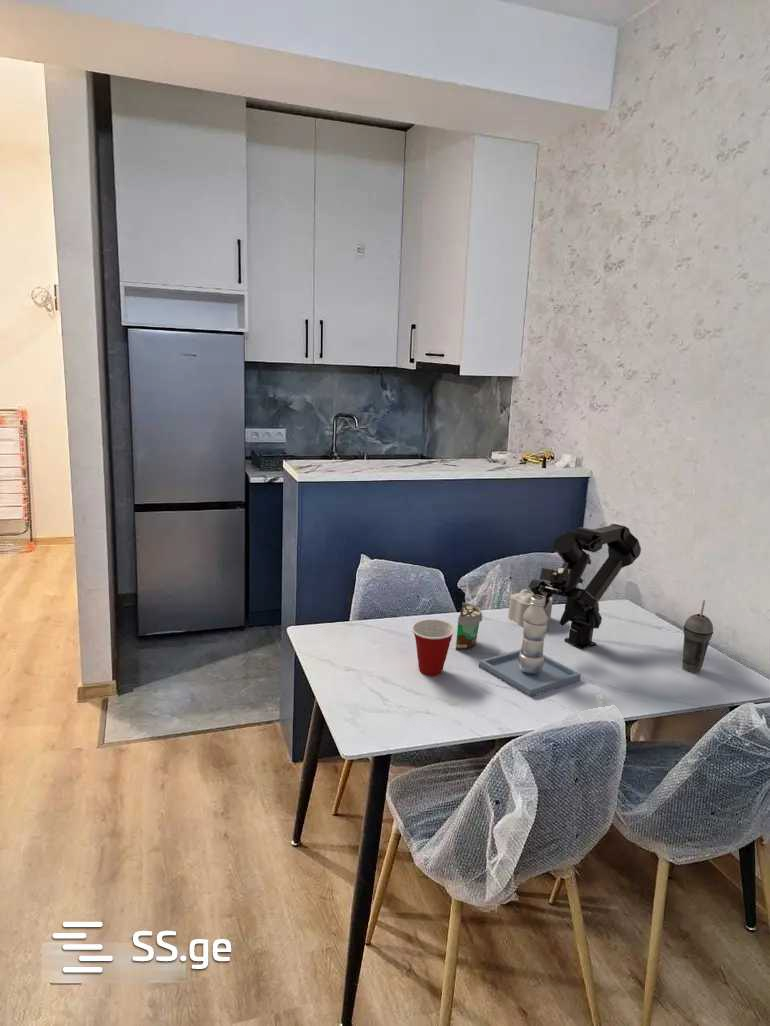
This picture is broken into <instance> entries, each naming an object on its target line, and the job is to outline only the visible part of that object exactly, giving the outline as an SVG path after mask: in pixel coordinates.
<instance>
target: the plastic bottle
mask: <svg viewBox="0 0 770 1026" xmlns="http://www.w3.org/2000/svg"><path fill="white" fill-rule="evenodd" d="M545 601H546V598H545V597H544V596H541V595H532V596H531V601H530V604H531V605H530V606H529V607H528V608H527V610H526V611H525V612H524V615H523V626H524V627H523V626H522V627H523V634H522V635H523V636H522V642H521V648H520V649H521V652H520V654H519V658H518V666H519V668H520V670H522V671H523V672H525V673H529V674H537V673H539V672H540V671H541V670H542V668H543V665H544V657H543V655H544V643H545V637H546V633H547V632H546V631H547V629H548V625H549V623H548V621H549V616H548V613H547V611H546V609H545V608H544V606H545V604H546V603H545Z"/></svg>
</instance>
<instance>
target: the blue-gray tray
mask: <svg viewBox="0 0 770 1026" xmlns="http://www.w3.org/2000/svg"><path fill="white" fill-rule="evenodd" d="M520 652H521V648H520V649H517V650H512V651H510V652H506V653H502V654H498V655H494V656H490V657H487V658H483V659H479V661H478V662H479V663H478V667H479V668H480V669H481V670H484V671H486V672H487V673H488V672H489V674H490V675H491V676H494V677H495V678H497V679H498V678H499V680H500V679H501V680H500V681H501V682H504V683H505V682H506V683H505V684H507V685H509V686H510V685H511V687H513V688H514V689H515V688H516V689H515V690H517V691H519V692H520V691H521V693H522V692H523V695H525V694H526V696H527V695H528V696H527V697H529V698H530V696H531V697H534V696H537V695H536V694H538V695H540V694H539V693H541V694H543V692H544V693H547V692H549V690H550V691H552V689H553V690H555V688H556V689H558V688H561V687H565V686H567V685H572V684H574V683H576V682H580V681H581V676H582V674H581V673H580V672H578V671H575V670H574V669H571V667H568V666H566V665H564V664H562V663H560V662H559V661H556V660H554V659H553V658H551V657H549V656H547V655H544V654H543V657H544V665H543V668H542V670H541V671H540V672H539V673H537V674H529V673H525V672H523V671H522V670H520V668H519V666H518V658H519V654H520ZM546 691H547V692H546ZM533 695H534V696H533Z"/></svg>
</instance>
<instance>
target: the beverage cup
mask: <svg viewBox="0 0 770 1026" xmlns="http://www.w3.org/2000/svg"><path fill="white" fill-rule="evenodd" d="M705 604H706V600H702V604H701V609H700V613H695V614H693V615H690V616H689V617H688V618H687V619H686V620H685V622H684V625H683V635H684V636H683V648H682V650H683V651H682V658H681V659H682V661H681V663H682V667H681V668H682V670H683V671H685V672H687V673H690V674H700V673H701V670H702V667H703V664H704V662H705V661H704V660H705V656H706V654H707V650H708V647H709V644H710V641H711V639H712V636H713V635H714V626H713V625H714V624H713V622H712V620H711V619H710V618H709V617H707V616H706V615H704V614H703V613H704V611H705V609H704V608H705Z"/></svg>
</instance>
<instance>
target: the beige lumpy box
mask: <svg viewBox="0 0 770 1026" xmlns="http://www.w3.org/2000/svg"><path fill="white" fill-rule="evenodd" d="M532 595H534V594H533V592H531V590H529V589H527V588H524V589H522V590H521V591H520V592H517V593H512V594H510V597H509V606H508V614H507V619H508V618H509V619H508V620H510V621H512V620H513V621H512V622H514V623H515V622H516V623H515V624H517V625H518V626H520V627H523V615H524V612H525V611H526V610H527V608H528V607H529V606H530V605H531V604H530V601H531V596H532ZM548 599H549V600H550V602H549V603H548V604H547V606H546V607H545V609H546V611H547V613H548V616H549V621H548V624H549V623H550V622H551V619H552V618H551V617H552V609H553V601H554V600H553V596H551V597H550V598H548Z"/></svg>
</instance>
